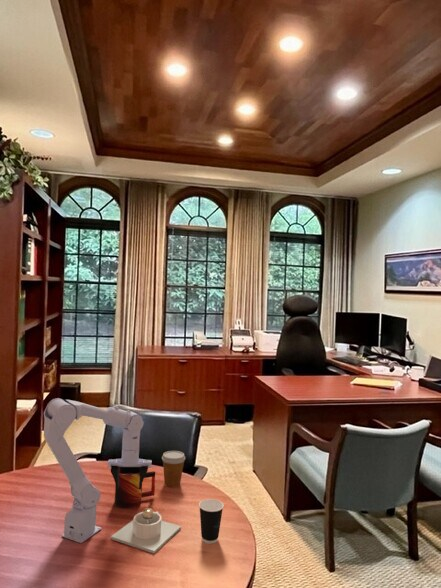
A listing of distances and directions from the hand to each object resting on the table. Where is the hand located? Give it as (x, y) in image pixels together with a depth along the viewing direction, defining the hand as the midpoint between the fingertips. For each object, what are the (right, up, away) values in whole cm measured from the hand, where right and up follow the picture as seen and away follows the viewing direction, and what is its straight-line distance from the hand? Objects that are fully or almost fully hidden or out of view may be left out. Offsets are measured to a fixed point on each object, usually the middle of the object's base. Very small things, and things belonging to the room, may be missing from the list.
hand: (128, 487), depth 149 cm
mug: (-1, -11, +13) cm, 17 cm away
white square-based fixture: (+8, -11, -9) cm, 16 cm away
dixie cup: (+28, -12, -10) cm, 32 cm away
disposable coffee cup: (+12, -11, +29) cm, 33 cm away
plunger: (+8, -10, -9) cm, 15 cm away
